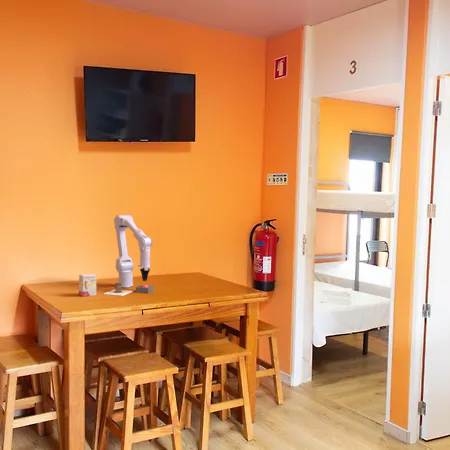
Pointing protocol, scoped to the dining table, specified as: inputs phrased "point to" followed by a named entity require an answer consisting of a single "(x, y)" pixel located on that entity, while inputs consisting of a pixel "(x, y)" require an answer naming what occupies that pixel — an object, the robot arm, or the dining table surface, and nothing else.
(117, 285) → the grey rounded cylinder
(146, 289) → the button housing
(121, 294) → the paper sheet
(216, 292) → the dining table surface
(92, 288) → the ink box
